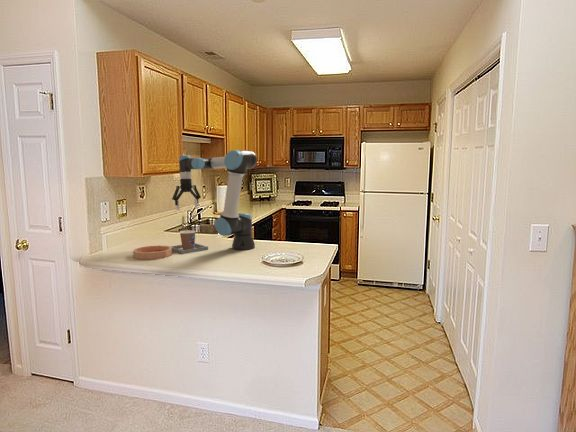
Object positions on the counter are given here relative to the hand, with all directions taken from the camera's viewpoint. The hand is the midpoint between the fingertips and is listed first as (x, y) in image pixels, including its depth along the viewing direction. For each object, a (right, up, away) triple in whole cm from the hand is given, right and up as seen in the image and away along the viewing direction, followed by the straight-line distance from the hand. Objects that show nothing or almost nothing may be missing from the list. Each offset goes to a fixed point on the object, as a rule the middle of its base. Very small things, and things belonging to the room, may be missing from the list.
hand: (187, 209), depth 272 cm
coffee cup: (+4, -27, -13) cm, 30 cm away
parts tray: (+4, -27, -13) cm, 30 cm away
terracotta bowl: (-14, -29, -29) cm, 43 cm away
